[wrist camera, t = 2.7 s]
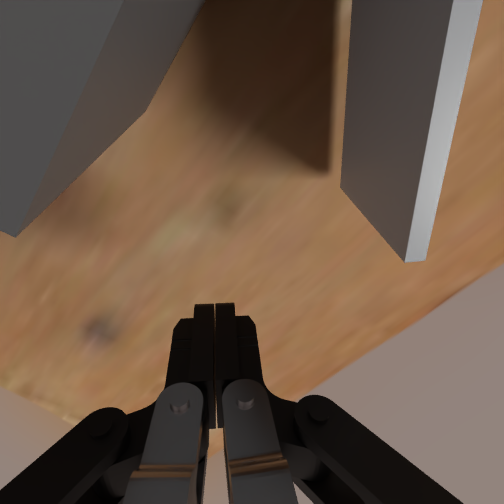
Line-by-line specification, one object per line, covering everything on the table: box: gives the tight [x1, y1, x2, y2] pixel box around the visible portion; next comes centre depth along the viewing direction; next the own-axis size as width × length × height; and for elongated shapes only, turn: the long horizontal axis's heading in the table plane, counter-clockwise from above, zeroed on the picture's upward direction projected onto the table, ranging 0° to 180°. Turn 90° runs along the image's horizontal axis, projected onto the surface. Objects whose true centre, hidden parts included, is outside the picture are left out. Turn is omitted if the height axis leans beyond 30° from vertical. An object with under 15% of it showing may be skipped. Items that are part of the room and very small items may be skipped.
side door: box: [340, 0, 483, 263], centre depth 11 cm, size 1×14×7 cm, turn 4°
